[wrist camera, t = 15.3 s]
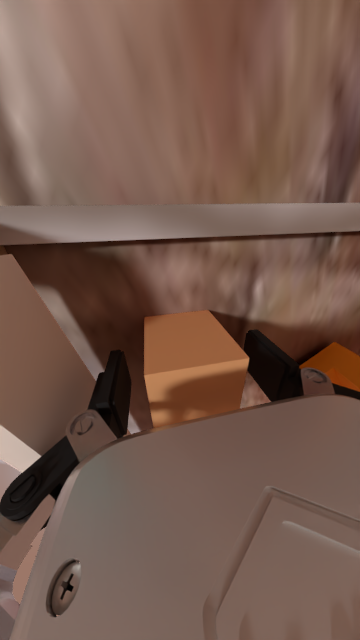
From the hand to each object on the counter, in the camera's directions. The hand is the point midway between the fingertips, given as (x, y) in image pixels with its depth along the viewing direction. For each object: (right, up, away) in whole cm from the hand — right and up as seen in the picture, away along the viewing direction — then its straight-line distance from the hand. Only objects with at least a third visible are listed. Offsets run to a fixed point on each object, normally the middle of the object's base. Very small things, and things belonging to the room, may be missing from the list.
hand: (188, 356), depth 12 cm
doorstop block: (-1, +1, +2) cm, 2 cm away
